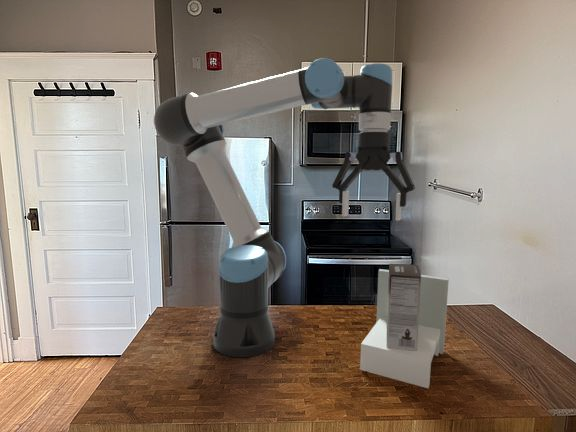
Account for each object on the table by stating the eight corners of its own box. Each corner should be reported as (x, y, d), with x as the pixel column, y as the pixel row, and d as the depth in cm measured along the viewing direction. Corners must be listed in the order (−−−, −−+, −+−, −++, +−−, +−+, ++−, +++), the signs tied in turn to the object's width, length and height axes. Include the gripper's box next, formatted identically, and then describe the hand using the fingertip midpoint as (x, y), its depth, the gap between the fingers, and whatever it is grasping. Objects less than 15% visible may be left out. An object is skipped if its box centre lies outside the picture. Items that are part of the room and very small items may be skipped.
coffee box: (385, 329, 87) (388, 262, 85) (414, 332, 85) (418, 264, 83) (386, 348, 78) (389, 273, 76) (418, 352, 76) (422, 276, 74)
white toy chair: (355, 368, 81) (358, 288, 79) (377, 336, 96) (380, 269, 94) (433, 389, 74) (439, 302, 71) (443, 351, 89) (448, 278, 86)
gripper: (321, 132, 94) (319, 216, 97) (425, 128, 82) (420, 223, 85) (332, 134, 100) (330, 212, 103) (430, 131, 89) (425, 219, 91)
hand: (370, 218), depth 94 cm, fingers open, 13 cm apart
